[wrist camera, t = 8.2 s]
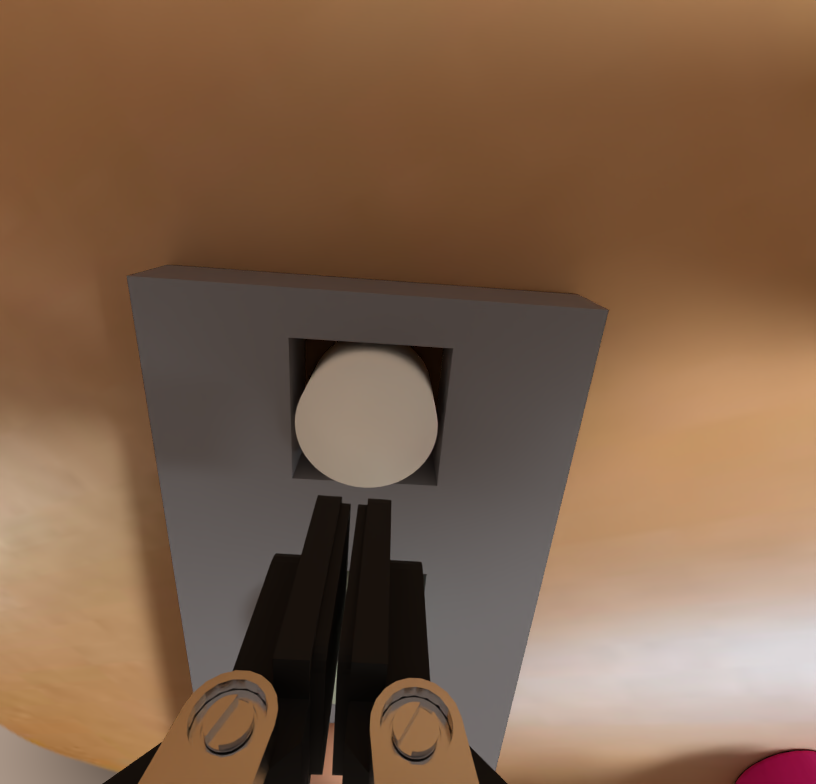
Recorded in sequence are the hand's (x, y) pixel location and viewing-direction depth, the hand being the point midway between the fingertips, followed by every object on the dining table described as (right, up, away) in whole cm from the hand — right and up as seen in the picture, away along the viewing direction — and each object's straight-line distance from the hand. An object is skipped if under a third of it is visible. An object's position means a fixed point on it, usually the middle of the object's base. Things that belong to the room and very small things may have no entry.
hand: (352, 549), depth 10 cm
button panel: (-1, -5, +10) cm, 11 cm away
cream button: (0, +4, +6) cm, 7 cm away
